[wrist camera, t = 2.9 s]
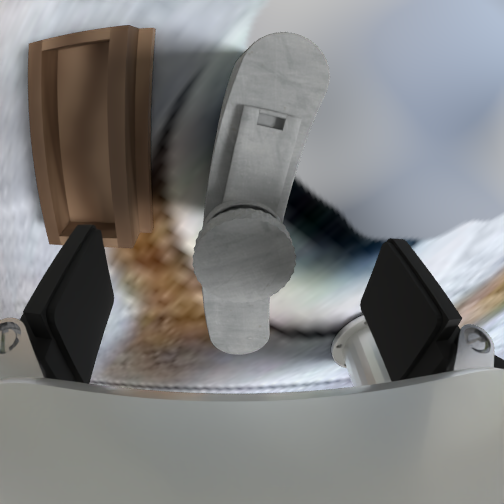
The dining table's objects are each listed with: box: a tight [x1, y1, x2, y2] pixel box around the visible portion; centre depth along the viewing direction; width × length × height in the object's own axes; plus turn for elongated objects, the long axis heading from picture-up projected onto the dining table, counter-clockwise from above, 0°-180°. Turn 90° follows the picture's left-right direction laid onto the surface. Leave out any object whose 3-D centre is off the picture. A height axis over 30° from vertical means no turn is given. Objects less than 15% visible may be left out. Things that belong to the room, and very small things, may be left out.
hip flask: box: [193, 32, 330, 355], centre depth 19 cm, size 16×4×20 cm, turn 172°
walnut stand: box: [28, 25, 156, 248], centre depth 24 cm, size 12×20×4 cm, turn 174°
